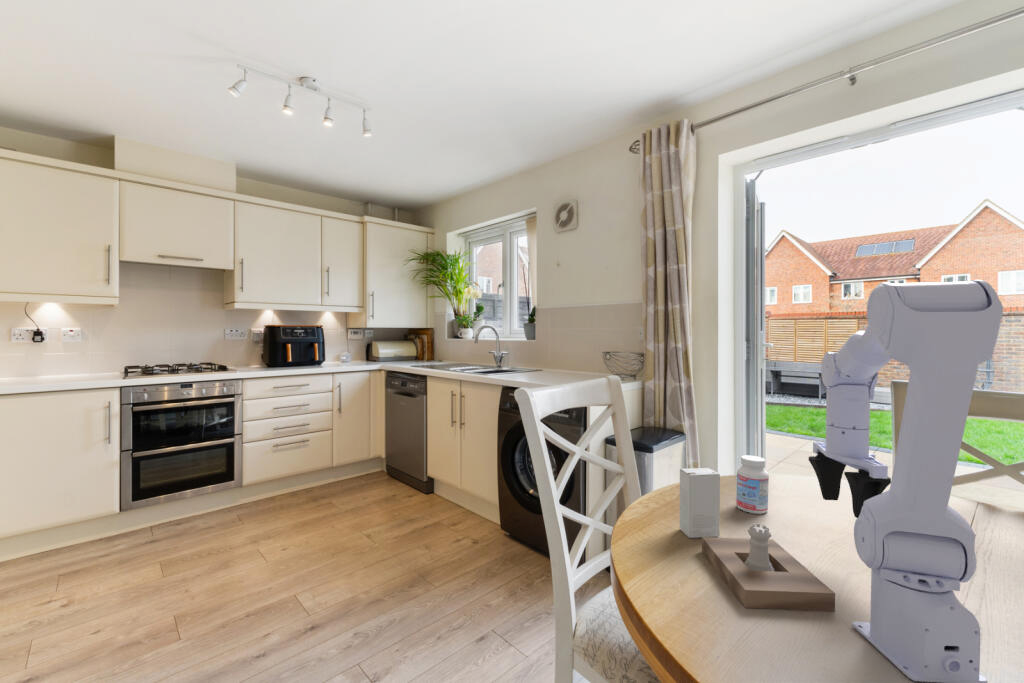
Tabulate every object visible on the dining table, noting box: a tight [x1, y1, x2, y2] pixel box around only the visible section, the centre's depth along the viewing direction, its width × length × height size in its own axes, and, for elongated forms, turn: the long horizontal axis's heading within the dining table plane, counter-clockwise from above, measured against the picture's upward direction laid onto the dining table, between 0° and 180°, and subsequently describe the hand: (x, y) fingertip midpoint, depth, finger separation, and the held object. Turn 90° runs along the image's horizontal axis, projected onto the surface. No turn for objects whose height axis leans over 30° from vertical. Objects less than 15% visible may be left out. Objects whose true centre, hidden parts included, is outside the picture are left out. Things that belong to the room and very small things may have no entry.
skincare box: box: [679, 467, 721, 539], centre depth 84 cm, size 6×4×12 cm
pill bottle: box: [735, 454, 770, 515], centre depth 96 cm, size 6×6×11 cm
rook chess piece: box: [744, 523, 774, 572], centre depth 69 cm, size 4×4×8 cm
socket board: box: [701, 537, 836, 612], centre depth 69 cm, size 16×12×2 cm
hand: (845, 508), depth 73 cm, fingers open, 7 cm apart
